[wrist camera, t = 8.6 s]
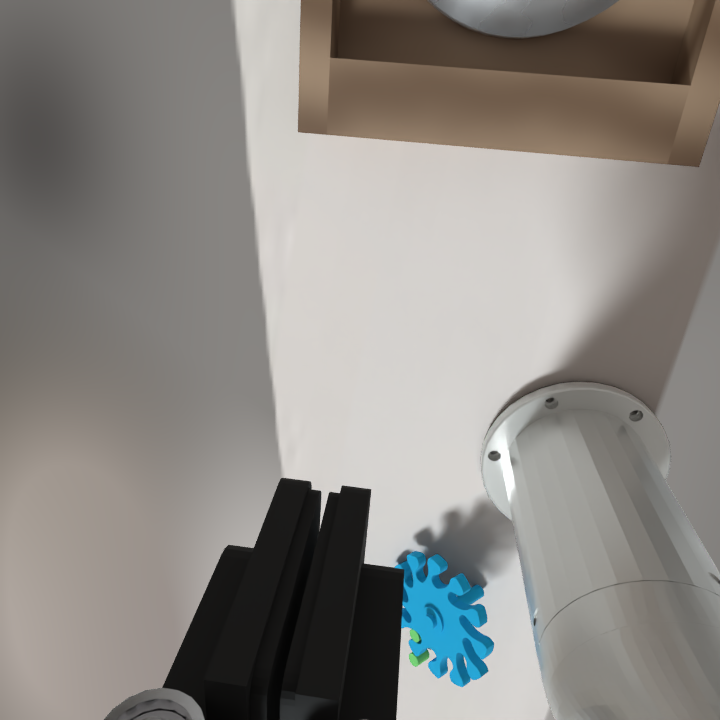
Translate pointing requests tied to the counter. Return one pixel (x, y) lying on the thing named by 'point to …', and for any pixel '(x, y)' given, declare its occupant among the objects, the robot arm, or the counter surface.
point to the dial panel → (515, 80)
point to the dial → (520, 15)
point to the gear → (444, 620)
